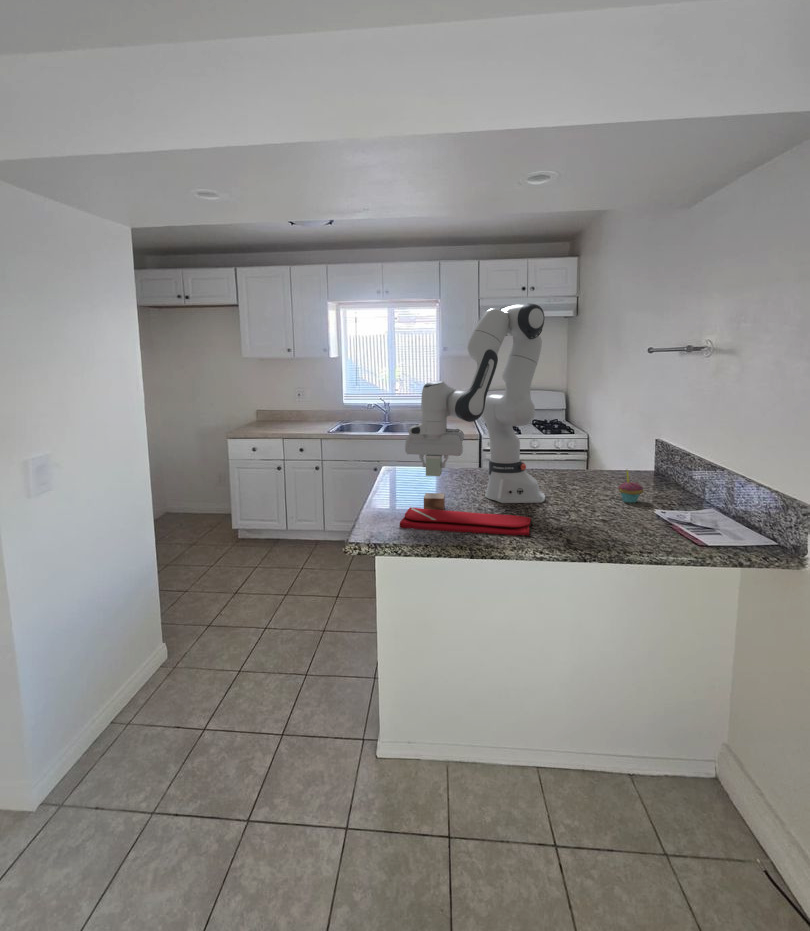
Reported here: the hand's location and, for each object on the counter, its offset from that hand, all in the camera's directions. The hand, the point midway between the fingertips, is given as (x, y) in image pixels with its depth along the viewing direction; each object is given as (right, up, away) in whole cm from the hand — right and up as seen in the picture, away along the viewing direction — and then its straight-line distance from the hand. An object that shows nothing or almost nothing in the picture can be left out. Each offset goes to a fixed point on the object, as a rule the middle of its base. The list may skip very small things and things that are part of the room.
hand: (433, 467), depth 196 cm
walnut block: (0, -15, +3) cm, 16 cm away
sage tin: (0, -3, +1) cm, 3 cm away
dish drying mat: (+10, -19, -15) cm, 26 cm away
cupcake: (+73, -13, +9) cm, 75 cm away
